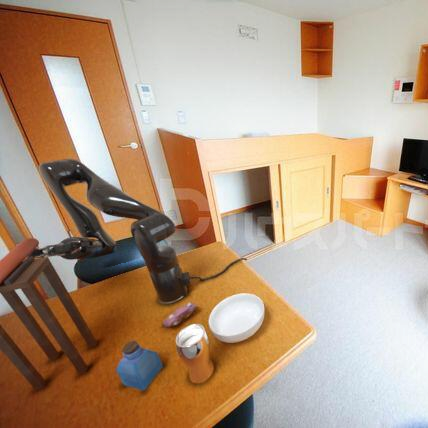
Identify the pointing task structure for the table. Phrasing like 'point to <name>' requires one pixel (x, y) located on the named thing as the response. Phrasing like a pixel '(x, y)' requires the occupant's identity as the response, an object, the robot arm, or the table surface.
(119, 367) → the perfume bottle
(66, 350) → the shelf stand
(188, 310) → the video game controller
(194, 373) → the silver metal tumbler
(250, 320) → the cereal bowl
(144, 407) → the table surface
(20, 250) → the sausage
